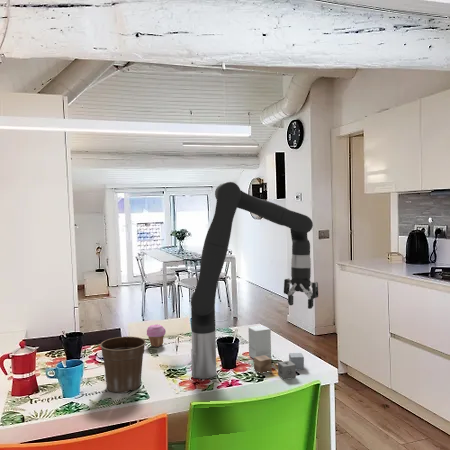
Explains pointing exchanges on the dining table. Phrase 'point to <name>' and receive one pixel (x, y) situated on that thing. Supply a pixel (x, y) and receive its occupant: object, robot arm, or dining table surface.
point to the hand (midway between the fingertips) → (300, 306)
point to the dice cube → (286, 369)
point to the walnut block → (262, 363)
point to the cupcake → (156, 334)
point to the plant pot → (123, 363)
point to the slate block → (297, 360)
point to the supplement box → (259, 341)
